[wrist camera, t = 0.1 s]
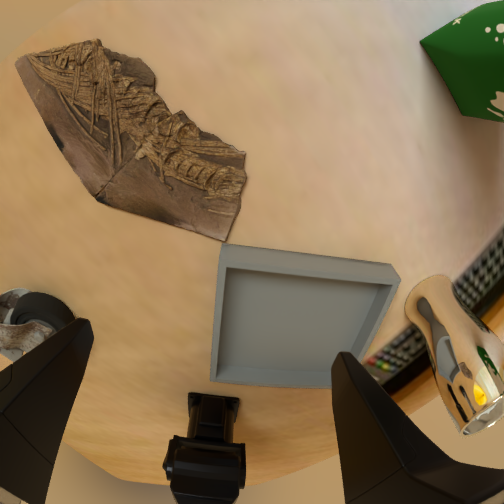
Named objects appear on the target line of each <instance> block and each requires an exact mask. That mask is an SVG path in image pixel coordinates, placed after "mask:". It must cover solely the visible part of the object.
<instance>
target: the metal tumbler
mask: <svg viewBox="0 0 504 504" xmlns="http://www.w3.org/2000/svg"><path fill="white" fill-rule="evenodd" d="M405 312H406V315H407V317H408V319H409V320H410V321H411V322H412V323H413V324H414V325H415V327H416V328H417V329H418V330H419V332H420V333H421V335H422V337H423V339H424V341H425V344H426V348H427V351H428V355H429V359H430V363H431V367H432V371H433V374H434V378H435V381H436V384H437V387H438V390H439V392H440V395H441V397H442V400H443V402H444V404H445V406H446V409H447V410H448V413H449V415H450V416H451V418H452V420H453V422H454V424H455V426H456V428H457V430H458V432H459V435H460V437H462V438H463V437H470V436H473V435H476V434H478V433H480V432H482V431H484V430H486V429H487V428H489V427H491V426H492V425H494V424H495V423H497V422H498V421H499V420H500V419H502V418H503V417H504V344H503V343H502V341H501V340H500V339H499V337H498V336H497V335H496V334H495V333H494V332H493V331H492V330H491V329H490V328H489V327H488V326H487V325H486V324H485V323H484V322H483V321H482V320H480V319H479V318H478V317H477V316H476V315H475V314H474V313H473V312H472V311H470V310H469V309H468V308H467V307H466V305H465V304H464V303H463V302H462V300H461V299H460V297H459V295H458V293H457V291H456V289H455V286H454V284H453V283H452V281H451V280H450V279H449V278H448V277H446V276H443V275H436V276H432V277H429V278H427V279H425V280H423V281H422V282H420V283H419V284H418V285H417V286H416V287H415V288H414V289H413V290H412V291H411V293H410V294H409V296H408V298H407V300H406V304H405Z"/></svg>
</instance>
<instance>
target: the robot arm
mask: <svg viewBox="0 0 504 504" xmlns="http://www.w3.org/2000/svg"><path fill="white" fill-rule="evenodd" d="M93 341H94V335H93V331H92V327H91V324H90V321H89V320H88V319H85V318H77V319H76V320H74V321H73V322H71V323H70V324H68V325H67V326H65V327H64V328H62V329H61V330H59V331H58V332H56V333H55V334H53V335H52V336H51V337H49V338H48V339H46V340H45V341H43V342H42V343H40V344H39V345H38V346H36V347H35V348H33V349H32V350H30V351H29V352H28V353H26V354H25V355H23V356H22V357H20V358H19V359H18V360H16V361H15V362H13V364H10V365H9V366H8V367H6V368H5V369H3V370H2V371H1V372H0V504H20V503H21V500H23V501H25V502H26V503H28V504H45V500H46V496H47V491H48V487H49V483H50V479H51V475H52V471H53V468H54V464H55V460H56V456H57V453H58V450H59V446H60V443H61V440H62V436H63V433H64V430H65V427H66V424H67V421H68V418H69V415H70V412H71V409H72V406H73V404H74V401H75V398H76V395H77V393H78V390H79V387H80V384H81V382H82V379H83V376H84V373H85V370H86V366H87V362H88V358H89V355H90V351H91V348H92V344H93ZM331 384H332V407H333V414H334V421H335V428H336V434H337V441H338V448H339V455H340V463H341V471H342V479H343V488H344V496H345V504H504V469H494V468H487V467H481V466H476V465H470V464H465V463H460V462H458V461H455V460H453V459H452V458H450V457H449V456H448V455H447V454H445V453H444V452H443V451H442V450H441V449H440V448H439V447H438V446H437V445H435V443H433V442H432V441H431V440H430V439H429V438H428V437H427V436H426V435H425V434H424V433H423V432H422V431H421V430H420V429H419V428H418V427H417V426H416V425H415V424H414V423H413V422H412V421H411V420H410V418H409V417H408V416H407V415H406V414H405V413H404V412H403V411H402V409H401V408H400V407H399V406H398V405H397V404H396V403H395V402H394V400H393V399H392V398H391V397H390V396H389V395H388V394H387V393H386V391H385V390H384V389H383V388H382V387H381V386H380V385H379V384H378V382H377V381H376V380H375V379H374V378H373V377H372V376H371V375H370V373H369V372H368V371H367V370H366V369H365V368H364V367H363V366H362V364H361V363H360V362H359V361H358V360H357V359H356V358H355V357H354V356H353V354H352V353H351V352H346V351H340V352H339V353H338V354H337V356H336V358H335V360H334V362H333V364H332V367H331ZM239 401H240V400H239V398H234V397H224V396H215V395H207V394H199V393H192V392H190V393H188V410H189V417H190V419H189V425H188V432H187V438H186V437H180V436H178V435H174V437H173V439H171V440H170V441H169V446H168V451H167V454H166V457H165V459H164V462H163V466H162V467H163V469H164V470H165V471H166V475H167V480H169V481H171V483H170V488H171V491H172V494H173V497H174V500H175V502H176V504H235V503H236V501H237V498H238V496H239V489H244V486H245V479H246V454H245V443H241V444H238V443H233V427H234V423H235V421H236V417H237V412H238V407H239ZM405 415H406V416H405Z"/></svg>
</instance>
